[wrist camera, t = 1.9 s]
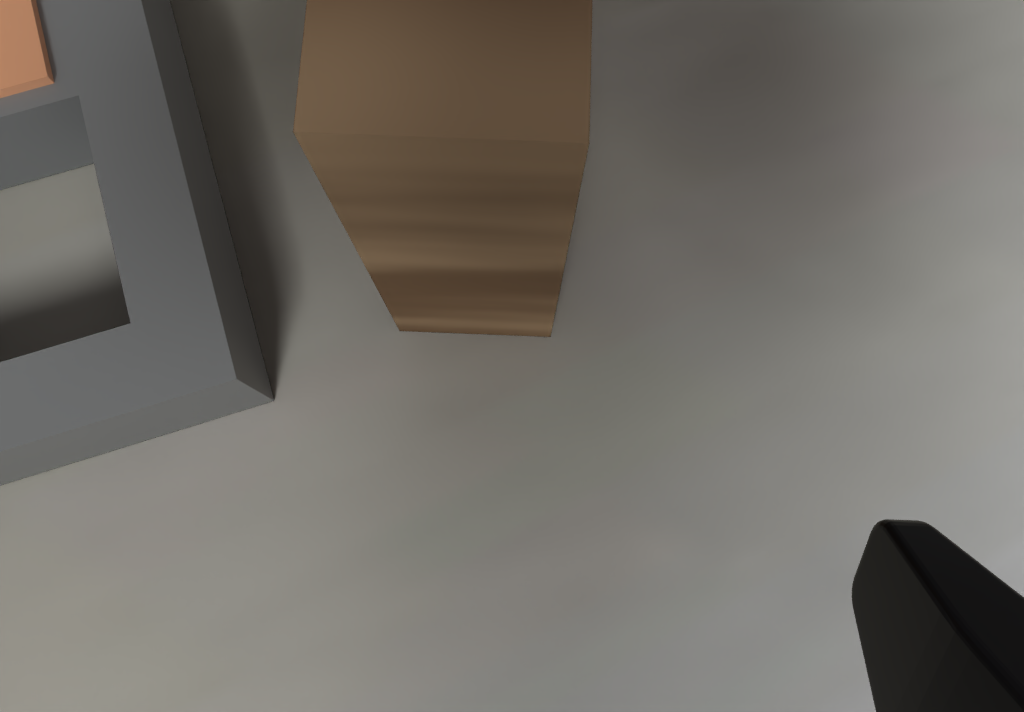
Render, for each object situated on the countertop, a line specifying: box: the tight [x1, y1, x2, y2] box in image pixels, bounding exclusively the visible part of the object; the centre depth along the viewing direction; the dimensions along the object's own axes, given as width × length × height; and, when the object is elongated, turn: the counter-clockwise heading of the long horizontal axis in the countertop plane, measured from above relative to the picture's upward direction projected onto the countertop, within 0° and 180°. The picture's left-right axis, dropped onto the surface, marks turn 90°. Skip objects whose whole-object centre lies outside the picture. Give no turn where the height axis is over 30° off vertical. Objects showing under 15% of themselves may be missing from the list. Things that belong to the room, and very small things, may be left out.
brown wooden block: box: [293, 0, 592, 337], centre depth 17 cm, size 4×4×11 cm
